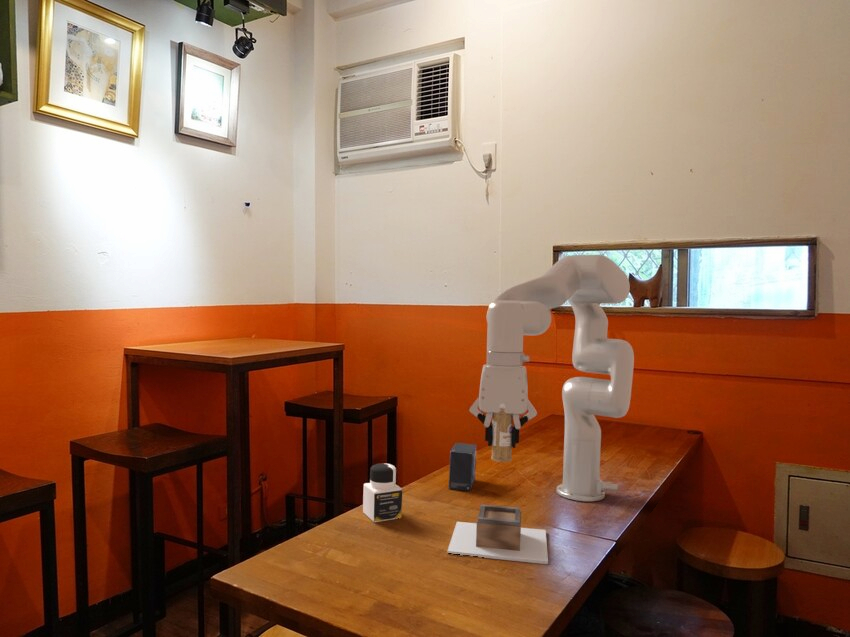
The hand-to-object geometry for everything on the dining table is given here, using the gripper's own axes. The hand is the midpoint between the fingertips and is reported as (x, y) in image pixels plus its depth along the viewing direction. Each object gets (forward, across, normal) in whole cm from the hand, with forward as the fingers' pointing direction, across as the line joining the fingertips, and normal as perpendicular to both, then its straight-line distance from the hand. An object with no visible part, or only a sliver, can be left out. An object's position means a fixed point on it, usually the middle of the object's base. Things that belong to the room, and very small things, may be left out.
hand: (501, 444), depth 124 cm
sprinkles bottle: (+3, 0, 0) cm, 3 cm away
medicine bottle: (+21, +28, -9) cm, 36 cm away
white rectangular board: (+21, 0, 0) cm, 21 cm away
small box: (+21, +12, -37) cm, 44 cm away
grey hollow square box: (+21, 0, 0) cm, 21 cm away
